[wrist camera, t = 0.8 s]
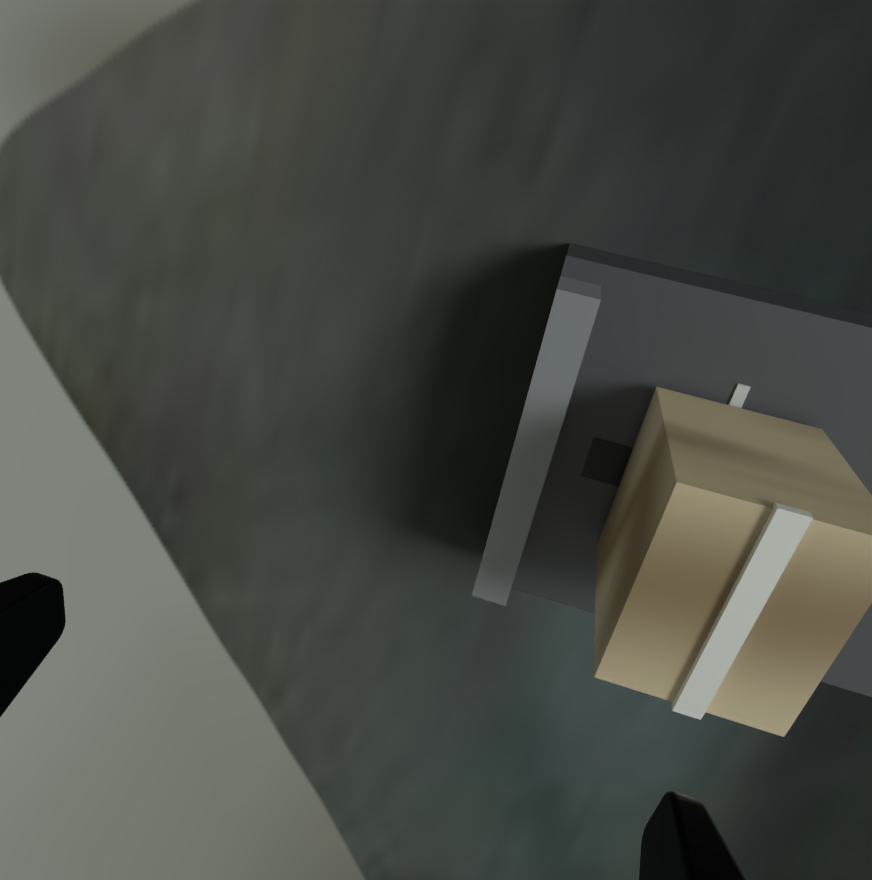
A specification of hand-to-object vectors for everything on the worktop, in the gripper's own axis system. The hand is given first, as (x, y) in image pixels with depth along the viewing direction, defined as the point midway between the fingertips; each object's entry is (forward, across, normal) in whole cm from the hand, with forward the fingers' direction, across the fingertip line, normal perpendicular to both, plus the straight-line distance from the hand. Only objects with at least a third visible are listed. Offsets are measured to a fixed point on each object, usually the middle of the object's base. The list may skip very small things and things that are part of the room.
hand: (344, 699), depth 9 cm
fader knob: (+10, -6, 0) cm, 12 cm away
